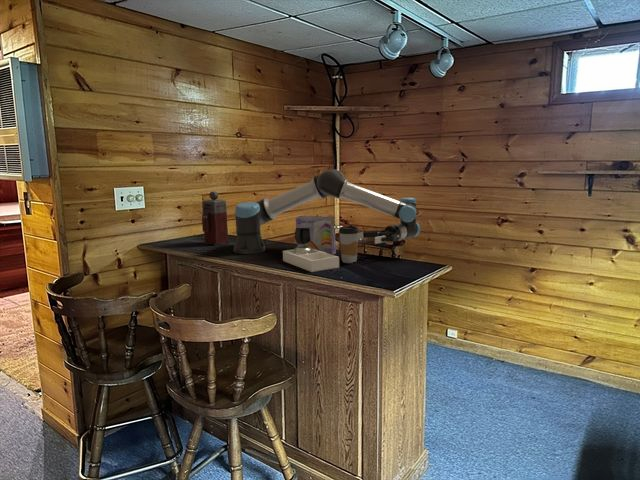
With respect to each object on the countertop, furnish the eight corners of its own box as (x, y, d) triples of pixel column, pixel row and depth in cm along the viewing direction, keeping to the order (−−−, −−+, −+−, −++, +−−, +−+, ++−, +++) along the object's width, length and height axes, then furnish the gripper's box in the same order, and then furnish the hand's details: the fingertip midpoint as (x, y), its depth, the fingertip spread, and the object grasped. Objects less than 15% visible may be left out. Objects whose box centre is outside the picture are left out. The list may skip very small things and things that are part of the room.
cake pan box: (294, 253, 226) (293, 216, 223) (299, 251, 231) (298, 215, 228) (332, 256, 218) (331, 217, 215) (336, 254, 223) (335, 216, 220)
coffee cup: (349, 258, 212) (349, 225, 210) (362, 261, 206) (362, 227, 203) (335, 261, 207) (335, 227, 204) (348, 264, 201) (348, 229, 198)
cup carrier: (283, 260, 211) (282, 250, 210) (308, 257, 217) (308, 247, 217) (311, 272, 190) (311, 260, 189) (339, 267, 196) (339, 256, 195)
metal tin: (292, 259, 210) (292, 247, 209) (306, 257, 213) (305, 246, 212) (300, 261, 204) (299, 250, 203) (314, 259, 207) (313, 248, 206)
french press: (201, 245, 253) (197, 192, 248) (216, 241, 263) (213, 190, 258) (214, 246, 249) (210, 192, 244) (228, 242, 258) (225, 190, 253)
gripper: (416, 243, 216) (385, 250, 202) (375, 237, 234) (344, 243, 221) (416, 227, 215) (385, 233, 201) (375, 222, 233) (343, 227, 219)
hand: (363, 238), depth 211 cm, fingers open, 13 cm apart
